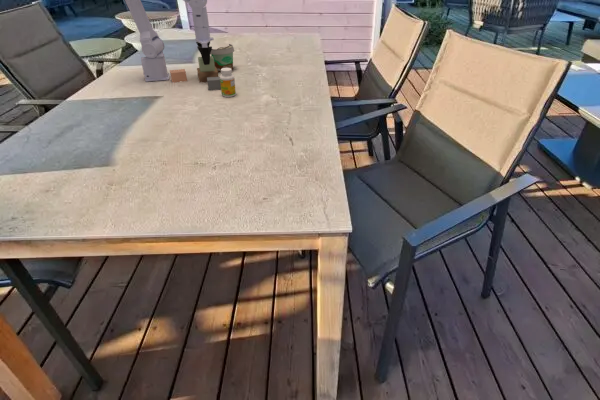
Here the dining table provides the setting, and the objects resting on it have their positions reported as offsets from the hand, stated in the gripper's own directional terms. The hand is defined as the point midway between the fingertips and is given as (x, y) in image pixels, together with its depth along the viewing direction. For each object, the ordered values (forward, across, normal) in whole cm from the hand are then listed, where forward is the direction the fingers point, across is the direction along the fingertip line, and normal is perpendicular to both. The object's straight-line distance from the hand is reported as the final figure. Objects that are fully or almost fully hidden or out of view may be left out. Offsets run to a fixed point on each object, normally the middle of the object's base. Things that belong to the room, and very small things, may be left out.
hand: (206, 62), depth 157 cm
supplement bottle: (+7, -22, -6) cm, 24 cm away
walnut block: (+7, 0, 0) cm, 7 cm away
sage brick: (+3, 0, 0) cm, 3 cm away
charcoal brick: (+7, -13, -2) cm, 15 cm away
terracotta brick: (+7, +1, +12) cm, 14 cm away
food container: (+7, +10, -9) cm, 15 cm away
